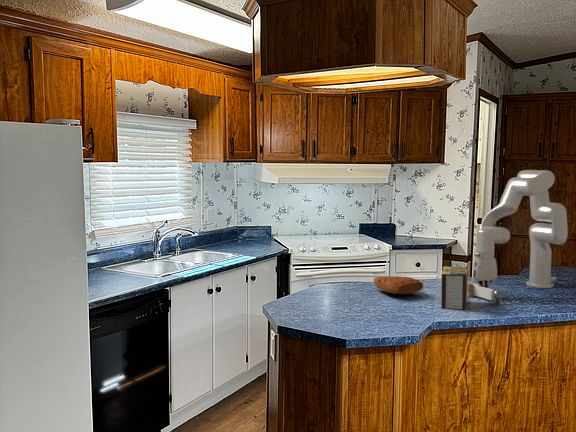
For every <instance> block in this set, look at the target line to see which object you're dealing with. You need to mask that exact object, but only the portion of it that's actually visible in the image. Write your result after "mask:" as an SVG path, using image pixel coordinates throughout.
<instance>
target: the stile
mask: <svg viewBox="0 0 576 432" xmlns="http://www.w3.org/2000/svg"><path fill="white" fill-rule="evenodd" d="M473 296H474V295H473V284H470V283H467V298H473Z"/></svg>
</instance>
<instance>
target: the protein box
mask: <svg viewBox="0 0 576 432" xmlns="http://www.w3.org/2000/svg"><path fill="white" fill-rule="evenodd" d="M467 282H468V267H459V266H458V267H457V266H443V268H442V272H441V301H440V303H441V305H440V306H441V307H440V309H444V310H445V309H446V310H457V311H458V310H459V311H467V300H468V299H467V298H468V297H467Z"/></svg>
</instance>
